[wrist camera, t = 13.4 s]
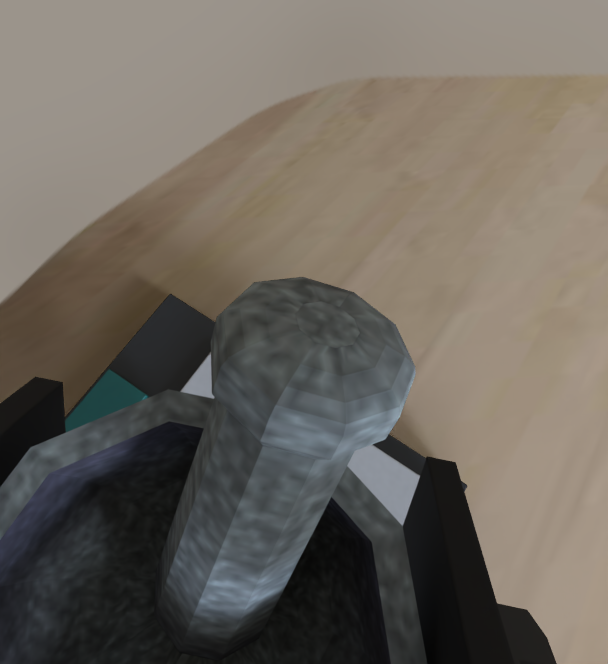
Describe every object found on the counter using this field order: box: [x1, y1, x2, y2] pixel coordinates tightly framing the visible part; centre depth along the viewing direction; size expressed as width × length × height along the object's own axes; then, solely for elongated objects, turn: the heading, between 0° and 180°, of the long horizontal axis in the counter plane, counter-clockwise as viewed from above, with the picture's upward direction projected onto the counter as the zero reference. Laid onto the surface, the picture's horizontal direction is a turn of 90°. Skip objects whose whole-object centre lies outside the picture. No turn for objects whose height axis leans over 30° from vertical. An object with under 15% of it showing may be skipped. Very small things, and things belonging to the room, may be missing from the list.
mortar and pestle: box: [0, 277, 427, 664], centre depth 10 cm, size 11×9×12 cm
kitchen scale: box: [65, 294, 467, 526], centre depth 21 cm, size 18×16×3 cm
